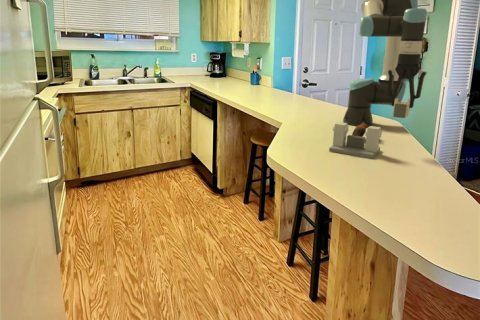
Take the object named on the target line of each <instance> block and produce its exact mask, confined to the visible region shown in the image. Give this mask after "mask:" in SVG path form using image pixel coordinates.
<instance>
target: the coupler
mask: <svg viewBox="0 0 480 320" xmlns="http://www.w3.org/2000/svg"><path fill="white" fill-rule="evenodd" d="M393 109H394V115H393V114H392V117H393V118H397V119H398V118H401V119H405V118H406V110H407V102H405V101H401V102H398V103H397V104H395V108H394V107H393Z"/></svg>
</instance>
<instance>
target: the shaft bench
mask: <svg viewBox="0 0 480 320" xmlns="http://www.w3.org/2000/svg"><path fill="white" fill-rule="evenodd" d="M369 126H370V127H368V128H367V129H365V130H366V132H365V134H364V135H365V136H366V137H365V136H363V137H360V136H353V135H352V134H351V135H350V134H348V132H349V125H348V123H343V122H340V121H337V122H336V123H334V124H333V126H332V131H333V138H332V145H331V146H330V147H329V150H328V151H329V152H331V153H338V154H342V155H343V154H344V155H349V156H355V157H361V158H368V159H372V158H375V157H376V155H378V154H379V153H380V152H381V146H380V138H382V135H383V129H382V128H381V126H373V125H369ZM347 134H348V135H347ZM365 140H366V141H365ZM379 146H380V147H379Z"/></svg>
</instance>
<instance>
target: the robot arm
mask: <svg viewBox="0 0 480 320" xmlns="http://www.w3.org/2000/svg"><path fill="white" fill-rule="evenodd" d="M361 13H362V15H363V16H362V17H361V19H360V23H359V36H360V37H365V38H372V37H374V38H375V37H377V38H378V37H379V38H381V37H384V38H385V37H386V43H385V50H384V51H385V53H384V60H383V67H382V74H381V75H380V76H379V77H378V80H377V81H375V79H374V78H372V77H371V78H368V77H367V78H359V79H358V78H357V79H354V80H352V81H350V85H349V89H348V90H349V93H348V102H347V103H348V104H347V110H346V111H345V114H344V116H343V120H342V123H348V124H347V126H349V125H350V126H355V127H357V126H358V125H361V124H362V123H365V124H367V125H368V126H373V122H374V121H373V120H374V119H373V115H372V112H371V111H372V110H371V109H372V105H382V106H383V105H384V106H385V105H387V106H391V107H393V112H392V116H393V115H394V108H395V104H397V103H398V102H403V99H404V96H405V93H406V86H407V85H406V82H405V81H404V79H405V80H408V84H409V85H408V86H409V87H408V88H409V99H407V102H406V103H407V110H406V117H407V118H408V117H409V116H410V112H411V109H413V107H414V105H415V100H417V99H419V98H421V93H422V89H423V85H424V79H425V77H426V76H427V74H428V73H427V71H424V70H422V69H421V68H420V61H421V54H420V53H422V49H423V42H424V41H423V40H424V34H425V28H426V23H427V19H428V18H427V13H428V9H426V8H421V7H420V8H419V2H418V0H363V2H362V4H361ZM416 75H418V77H419V78H418V82H417V88H416V92H415V76H416ZM406 117H405V118H406Z"/></svg>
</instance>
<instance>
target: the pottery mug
mask: <svg viewBox="0 0 480 320" xmlns="http://www.w3.org/2000/svg"><path fill="white" fill-rule="evenodd" d="M370 126H371V125H367V124H365V123H362V124H361V125H358V126H355V127H354V129H353V132H352V134H351V135H353V136H360V137H364V135H365V132H366V129H367V128H368V127H370Z"/></svg>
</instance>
